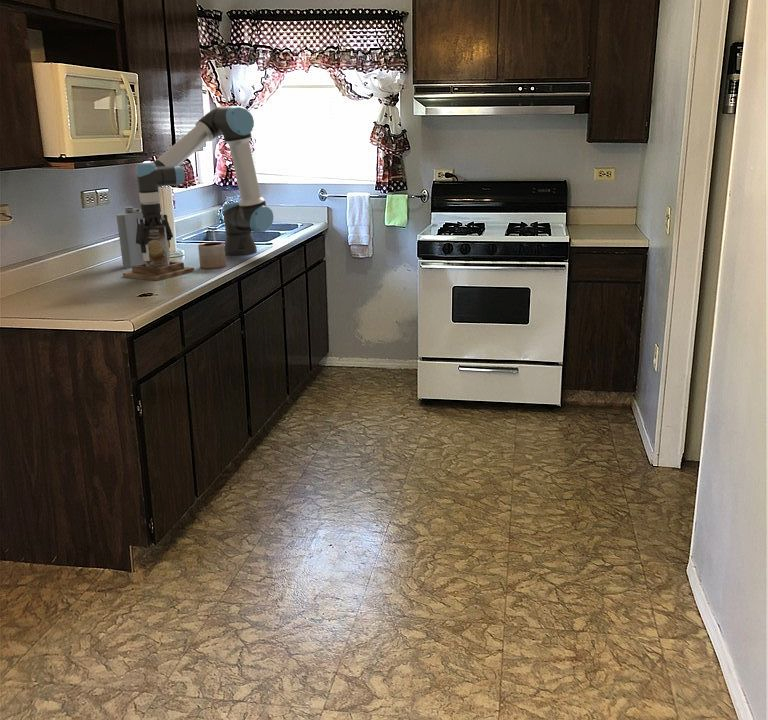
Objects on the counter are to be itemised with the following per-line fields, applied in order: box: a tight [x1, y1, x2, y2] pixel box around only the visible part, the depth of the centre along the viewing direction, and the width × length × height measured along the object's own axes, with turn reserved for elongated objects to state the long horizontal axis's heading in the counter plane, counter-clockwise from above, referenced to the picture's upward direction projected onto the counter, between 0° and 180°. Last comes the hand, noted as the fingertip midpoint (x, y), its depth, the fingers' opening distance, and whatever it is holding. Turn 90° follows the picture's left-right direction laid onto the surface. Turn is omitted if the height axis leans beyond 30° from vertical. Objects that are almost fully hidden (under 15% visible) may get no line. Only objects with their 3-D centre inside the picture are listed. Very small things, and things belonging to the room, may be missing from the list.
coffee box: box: [143, 225, 170, 267], centre depth 324 cm, size 9×6×16 cm
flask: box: [115, 206, 146, 269], centre depth 347 cm, size 17×5×25 cm, turn 161°
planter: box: [197, 241, 227, 270], centre depth 337 cm, size 11×11×10 cm
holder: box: [122, 260, 195, 282], centre depth 326 cm, size 20×20×4 cm
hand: (157, 258), depth 325 cm, fingers closed on coffee box, 10 cm apart
